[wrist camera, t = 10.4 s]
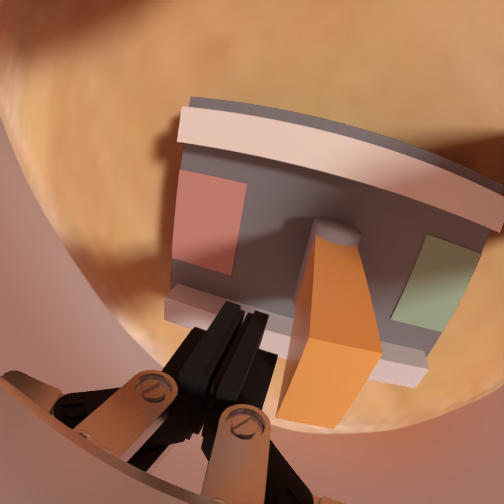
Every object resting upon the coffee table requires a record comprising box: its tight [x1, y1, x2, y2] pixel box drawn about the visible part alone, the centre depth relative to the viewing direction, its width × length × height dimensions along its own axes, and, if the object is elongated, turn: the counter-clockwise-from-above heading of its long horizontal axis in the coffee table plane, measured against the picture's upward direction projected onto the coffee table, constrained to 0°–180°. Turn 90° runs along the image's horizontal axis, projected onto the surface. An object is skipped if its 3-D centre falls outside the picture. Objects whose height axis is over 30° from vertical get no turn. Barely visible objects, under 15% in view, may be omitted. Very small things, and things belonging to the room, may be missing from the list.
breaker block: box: [164, 97, 504, 388], centre depth 17 cm, size 14×18×5 cm
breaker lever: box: [276, 217, 383, 429], centre depth 12 cm, size 4×2×9 cm, turn 170°
